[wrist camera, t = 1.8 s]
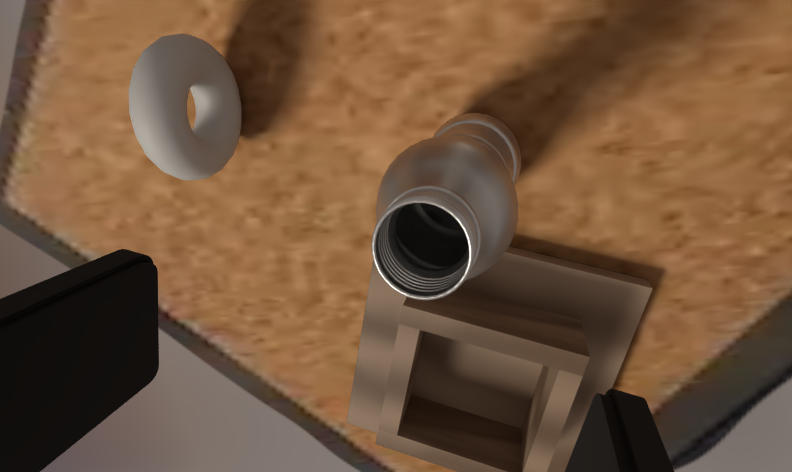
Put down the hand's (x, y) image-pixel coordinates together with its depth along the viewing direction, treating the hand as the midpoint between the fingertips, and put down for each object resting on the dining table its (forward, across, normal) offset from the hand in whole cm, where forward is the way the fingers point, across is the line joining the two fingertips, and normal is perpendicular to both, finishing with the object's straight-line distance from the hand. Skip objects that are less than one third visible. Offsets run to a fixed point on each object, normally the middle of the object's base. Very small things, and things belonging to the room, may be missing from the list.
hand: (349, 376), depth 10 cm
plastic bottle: (+27, 0, 0) cm, 27 cm away
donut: (+27, +20, 0) cm, 34 cm away
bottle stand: (+27, -4, +16) cm, 31 cm away
